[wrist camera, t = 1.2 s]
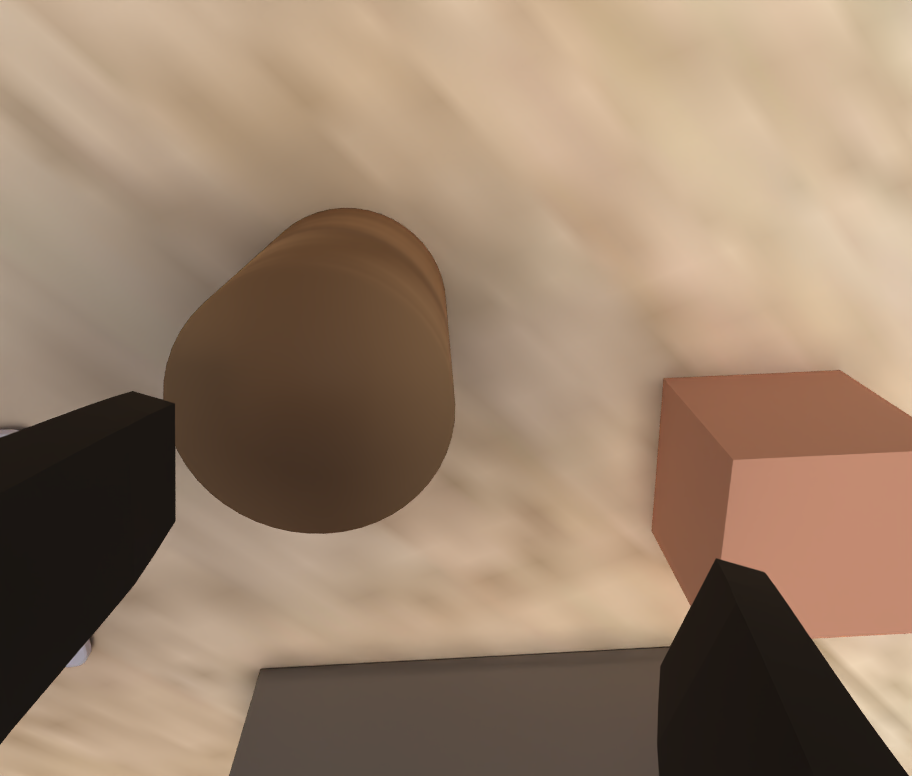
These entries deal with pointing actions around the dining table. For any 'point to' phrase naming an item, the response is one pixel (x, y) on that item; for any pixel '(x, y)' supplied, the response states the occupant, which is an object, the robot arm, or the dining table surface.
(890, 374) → the dining table surface
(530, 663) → the tote
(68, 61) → the dining table surface
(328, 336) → the walnut cylinder
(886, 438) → the cube
